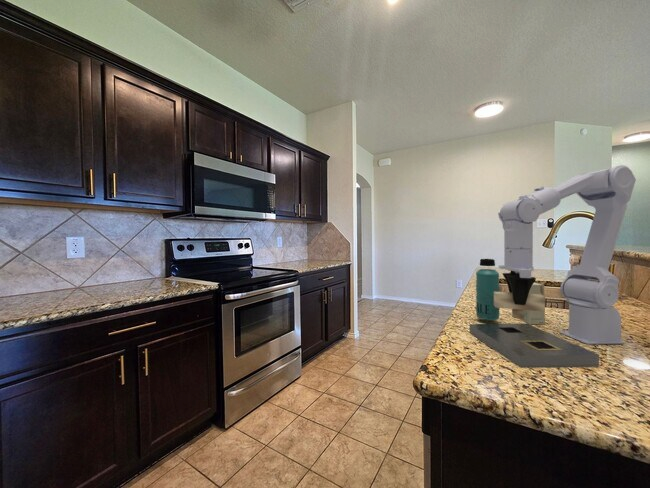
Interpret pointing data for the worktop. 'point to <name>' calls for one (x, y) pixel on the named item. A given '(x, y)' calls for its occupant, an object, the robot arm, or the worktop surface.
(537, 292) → the skincare box
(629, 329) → the worktop surface
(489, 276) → the beverage bottle
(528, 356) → the charcoal cover panel
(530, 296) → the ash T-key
